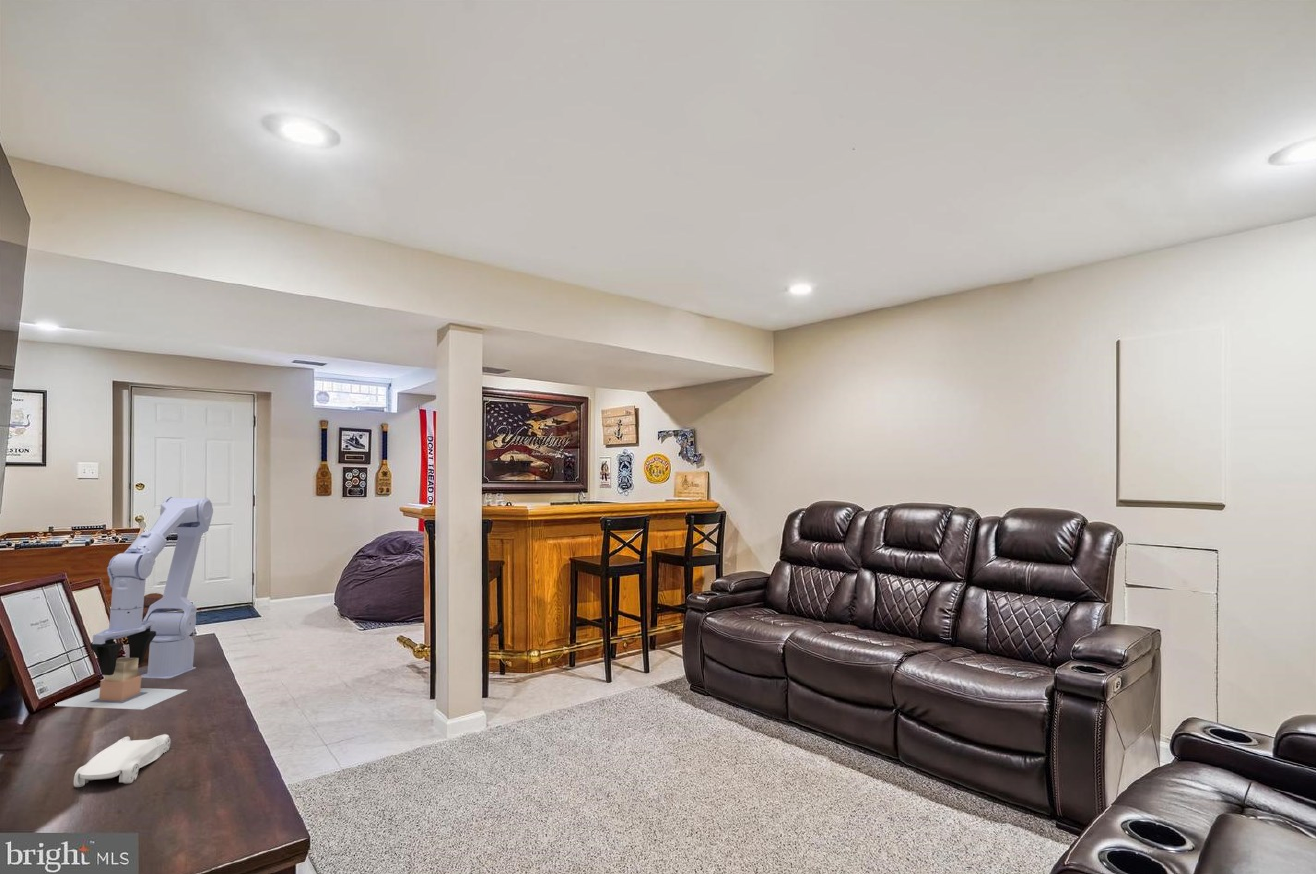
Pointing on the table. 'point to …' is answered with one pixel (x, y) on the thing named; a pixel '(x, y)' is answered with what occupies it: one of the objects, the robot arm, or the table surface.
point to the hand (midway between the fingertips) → (121, 669)
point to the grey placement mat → (136, 702)
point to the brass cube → (124, 669)
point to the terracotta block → (120, 689)
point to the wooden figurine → (148, 601)
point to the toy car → (122, 760)
